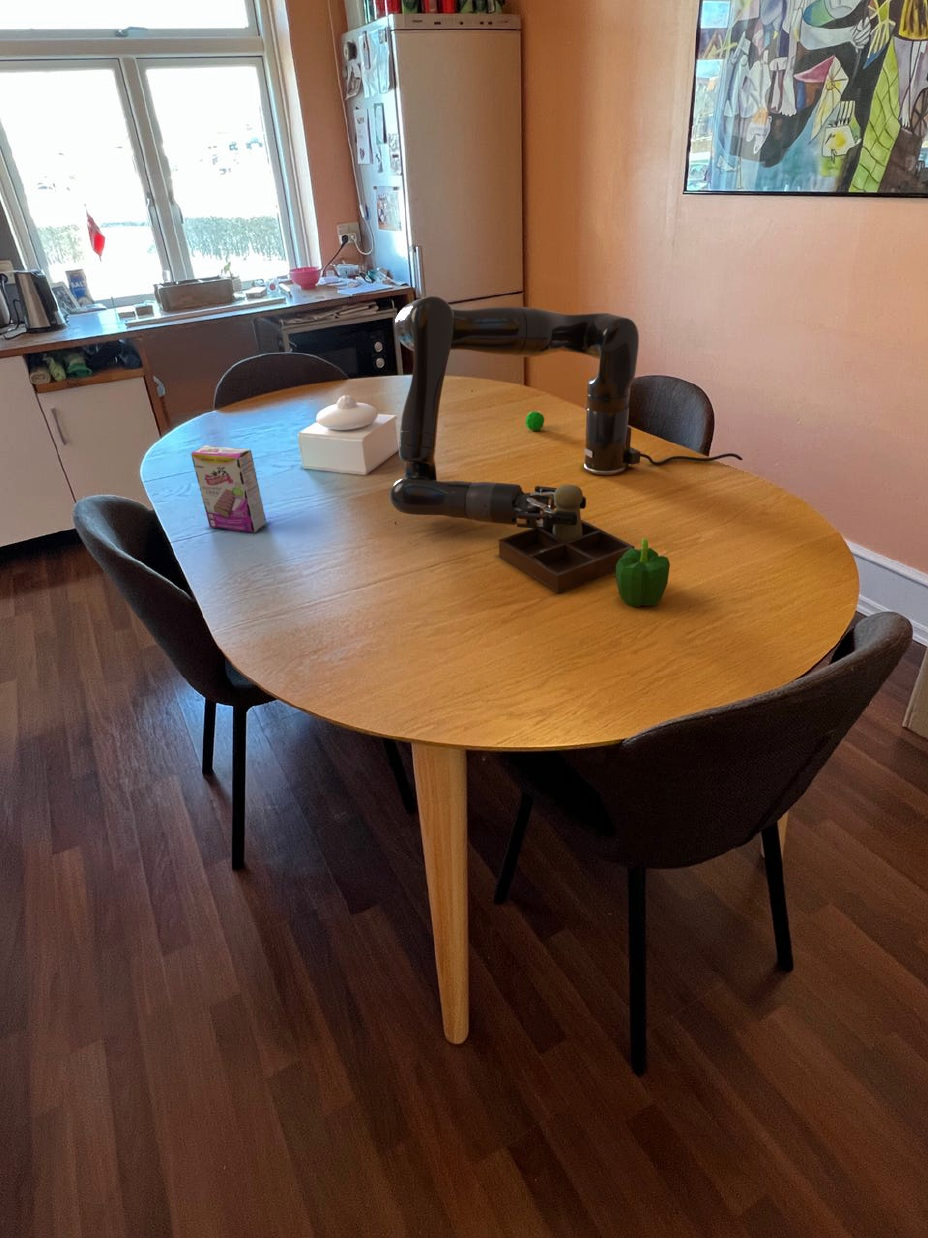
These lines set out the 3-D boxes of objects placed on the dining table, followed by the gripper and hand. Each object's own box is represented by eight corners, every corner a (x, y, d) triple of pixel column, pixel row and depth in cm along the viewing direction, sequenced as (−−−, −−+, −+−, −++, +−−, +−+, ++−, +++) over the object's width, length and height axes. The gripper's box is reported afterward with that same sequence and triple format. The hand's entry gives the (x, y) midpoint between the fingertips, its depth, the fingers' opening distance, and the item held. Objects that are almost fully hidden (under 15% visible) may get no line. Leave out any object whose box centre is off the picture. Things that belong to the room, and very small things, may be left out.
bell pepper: (656, 618, 117) (661, 562, 111) (607, 606, 120) (610, 551, 115) (673, 594, 122) (680, 539, 117) (626, 583, 126) (630, 529, 121)
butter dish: (302, 468, 181) (291, 403, 173) (340, 444, 195) (331, 382, 187) (366, 475, 175) (357, 408, 167) (399, 449, 189) (393, 386, 181)
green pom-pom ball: (547, 428, 197) (547, 410, 195) (538, 433, 194) (538, 415, 191) (530, 425, 200) (530, 408, 197) (522, 431, 196) (521, 413, 194)
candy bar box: (208, 529, 154) (188, 452, 145) (222, 519, 158) (204, 444, 149) (254, 534, 151) (237, 456, 142) (268, 524, 155) (251, 447, 146)
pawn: (582, 550, 136) (584, 494, 130) (549, 549, 137) (549, 493, 131) (584, 536, 141) (586, 481, 135) (552, 534, 142) (553, 480, 136)
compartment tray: (571, 531, 144) (571, 514, 142) (633, 563, 132) (634, 546, 130) (499, 556, 137) (498, 539, 135) (557, 593, 125) (558, 575, 123)
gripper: (481, 499, 132) (573, 507, 127) (504, 470, 143) (590, 476, 138) (483, 537, 136) (572, 546, 131) (505, 505, 147) (588, 513, 142)
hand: (581, 510), depth 135 cm, fingers open, 6 cm apart
